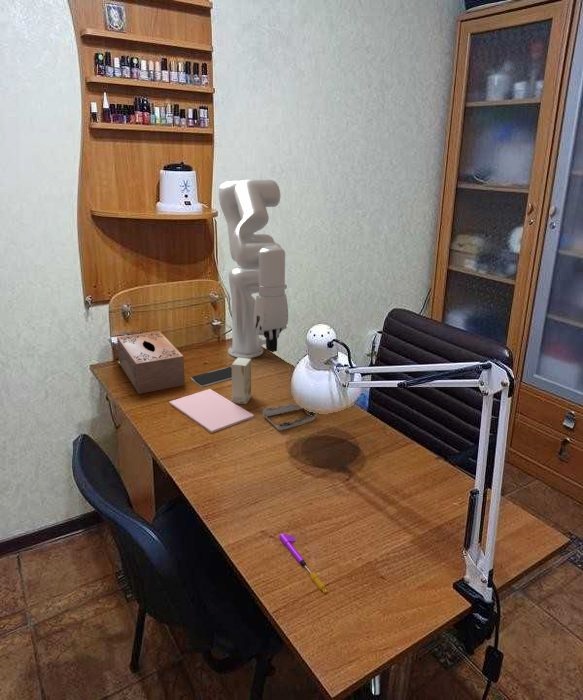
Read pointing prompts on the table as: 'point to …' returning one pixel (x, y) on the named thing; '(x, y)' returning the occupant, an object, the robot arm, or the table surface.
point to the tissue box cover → (151, 361)
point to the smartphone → (213, 377)
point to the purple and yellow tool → (300, 559)
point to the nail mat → (211, 410)
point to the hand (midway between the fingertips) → (271, 350)
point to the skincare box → (241, 380)
